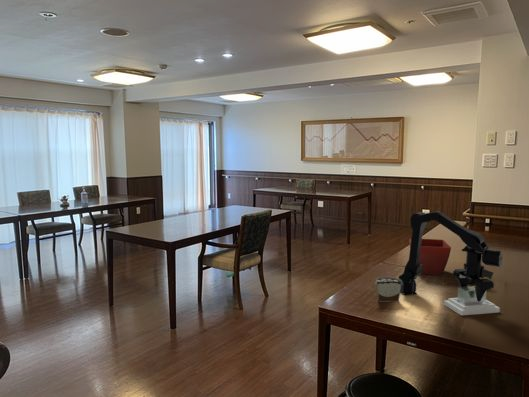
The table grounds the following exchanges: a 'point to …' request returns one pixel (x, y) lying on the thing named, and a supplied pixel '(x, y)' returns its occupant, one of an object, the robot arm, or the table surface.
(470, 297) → the block
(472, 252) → the robot arm
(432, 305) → the table surface
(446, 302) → the white rectangular tray
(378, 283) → the food container
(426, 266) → the plant pot
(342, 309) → the table surface
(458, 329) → the table surface
